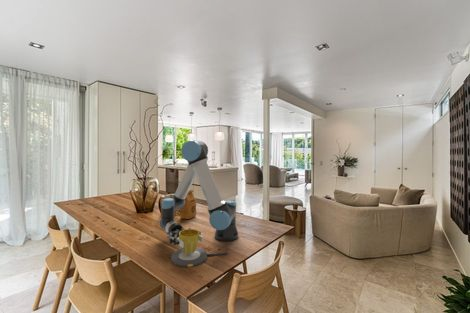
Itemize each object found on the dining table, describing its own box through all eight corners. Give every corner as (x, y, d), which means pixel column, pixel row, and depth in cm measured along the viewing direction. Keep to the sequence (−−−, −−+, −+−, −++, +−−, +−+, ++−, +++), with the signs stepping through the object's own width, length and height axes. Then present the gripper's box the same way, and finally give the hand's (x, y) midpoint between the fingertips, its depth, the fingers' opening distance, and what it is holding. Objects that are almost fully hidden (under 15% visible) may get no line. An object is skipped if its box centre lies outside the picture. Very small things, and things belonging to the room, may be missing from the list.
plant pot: (183, 257, 110) (183, 237, 110) (175, 249, 119) (175, 231, 118) (202, 252, 116) (203, 233, 116) (193, 245, 125) (194, 227, 124)
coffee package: (198, 216, 188) (198, 190, 187) (188, 220, 177) (188, 192, 176) (188, 214, 192) (188, 188, 191) (178, 218, 181) (178, 191, 181)
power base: (224, 246, 131) (224, 244, 131) (232, 262, 113) (232, 259, 113) (171, 251, 124) (171, 249, 124) (170, 269, 106) (170, 266, 106)
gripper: (192, 231, 138) (212, 243, 121) (154, 240, 124) (171, 256, 107) (192, 219, 138) (212, 230, 121) (154, 226, 124) (171, 240, 107)
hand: (193, 242), depth 114 cm, fingers closed on plant pot, 10 cm apart
